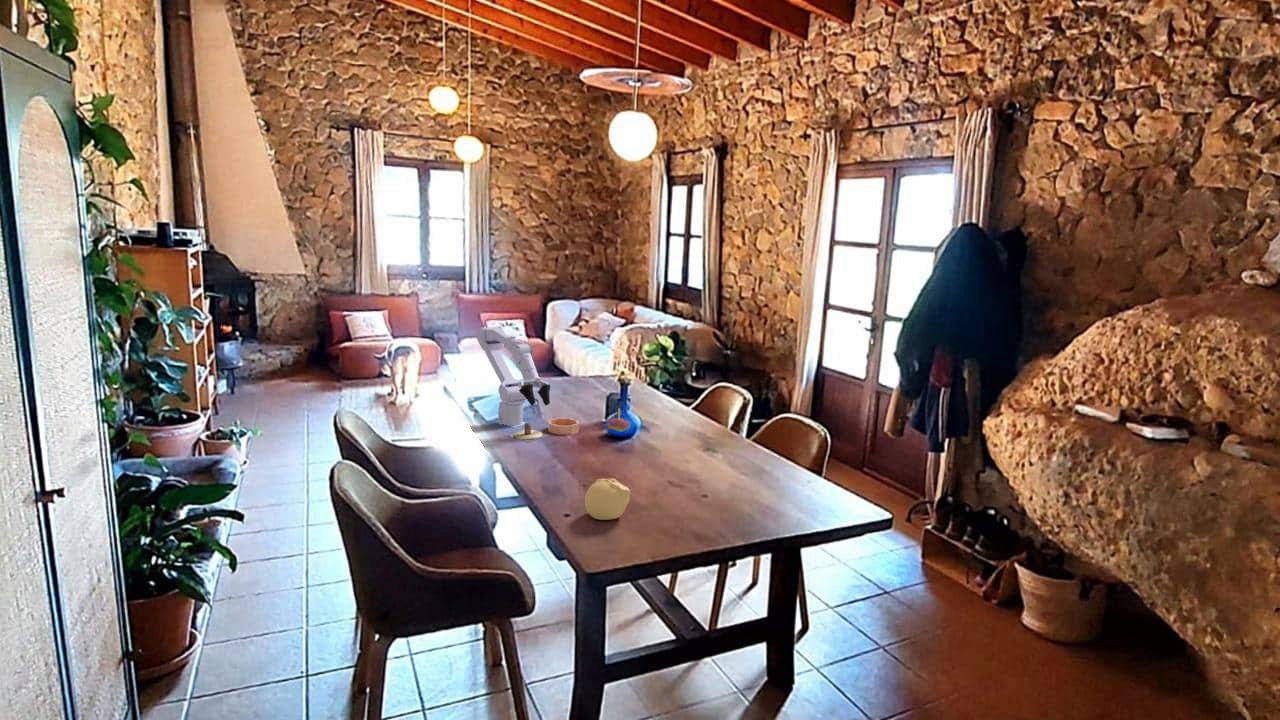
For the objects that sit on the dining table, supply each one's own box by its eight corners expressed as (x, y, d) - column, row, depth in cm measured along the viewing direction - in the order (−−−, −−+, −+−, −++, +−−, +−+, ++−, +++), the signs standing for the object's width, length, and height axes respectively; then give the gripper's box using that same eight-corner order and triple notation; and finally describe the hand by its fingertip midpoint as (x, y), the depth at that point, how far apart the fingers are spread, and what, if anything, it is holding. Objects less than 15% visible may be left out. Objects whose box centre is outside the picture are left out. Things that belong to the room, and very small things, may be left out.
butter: (635, 516, 206) (636, 480, 204) (605, 528, 198) (606, 490, 195) (606, 504, 214) (607, 469, 212) (576, 515, 205) (577, 479, 203)
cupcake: (629, 440, 277) (630, 409, 274) (606, 438, 277) (607, 408, 274) (629, 433, 285) (631, 403, 283) (608, 432, 285) (609, 402, 283)
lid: (506, 435, 273) (506, 424, 272) (526, 429, 282) (527, 418, 281) (528, 441, 267) (528, 429, 266) (548, 435, 276) (548, 423, 275)
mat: (504, 436, 273) (504, 435, 273) (526, 430, 283) (526, 429, 283) (528, 443, 267) (528, 442, 267) (550, 436, 276) (550, 435, 276)
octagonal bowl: (541, 430, 283) (541, 422, 282) (561, 424, 292) (561, 416, 292) (565, 437, 276) (565, 428, 275) (585, 430, 286) (585, 421, 285)
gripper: (522, 366, 269) (533, 399, 264) (549, 368, 280) (560, 399, 276) (510, 375, 272) (521, 407, 268) (537, 376, 284) (548, 407, 279)
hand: (540, 404), depth 272 cm, fingers open, 7 cm apart
